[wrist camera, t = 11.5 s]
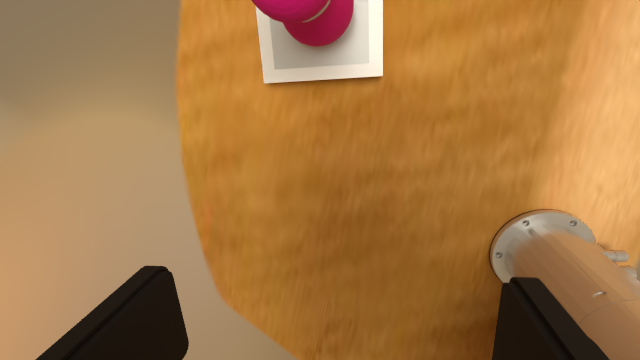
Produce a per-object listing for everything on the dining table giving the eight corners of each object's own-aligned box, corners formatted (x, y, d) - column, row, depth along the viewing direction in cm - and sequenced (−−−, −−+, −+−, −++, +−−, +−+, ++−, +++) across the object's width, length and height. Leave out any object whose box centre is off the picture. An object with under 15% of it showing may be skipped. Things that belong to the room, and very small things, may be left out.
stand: (381, -60, 34) (382, -72, 32) (381, 75, 39) (382, 76, 36) (257, -45, 37) (248, -55, 34) (271, 82, 41) (263, 83, 38)
